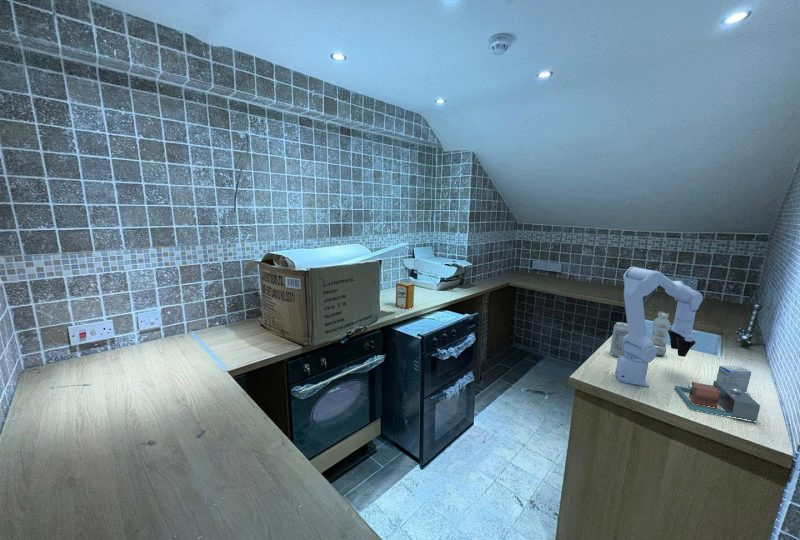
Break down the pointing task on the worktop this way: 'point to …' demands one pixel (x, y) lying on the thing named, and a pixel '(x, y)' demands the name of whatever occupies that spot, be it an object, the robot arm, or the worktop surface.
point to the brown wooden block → (704, 394)
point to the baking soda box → (404, 295)
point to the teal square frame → (727, 401)
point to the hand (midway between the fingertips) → (677, 352)
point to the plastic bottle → (660, 332)
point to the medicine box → (734, 376)
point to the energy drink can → (618, 339)
